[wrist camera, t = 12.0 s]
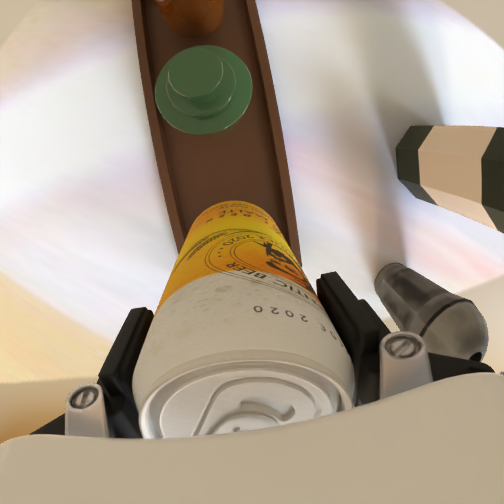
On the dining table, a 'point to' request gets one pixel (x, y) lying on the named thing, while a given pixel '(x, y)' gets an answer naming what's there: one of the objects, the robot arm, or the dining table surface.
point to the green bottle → (204, 91)
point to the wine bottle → (456, 169)
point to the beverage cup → (432, 313)
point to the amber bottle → (192, 16)
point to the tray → (225, 148)
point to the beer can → (238, 336)
